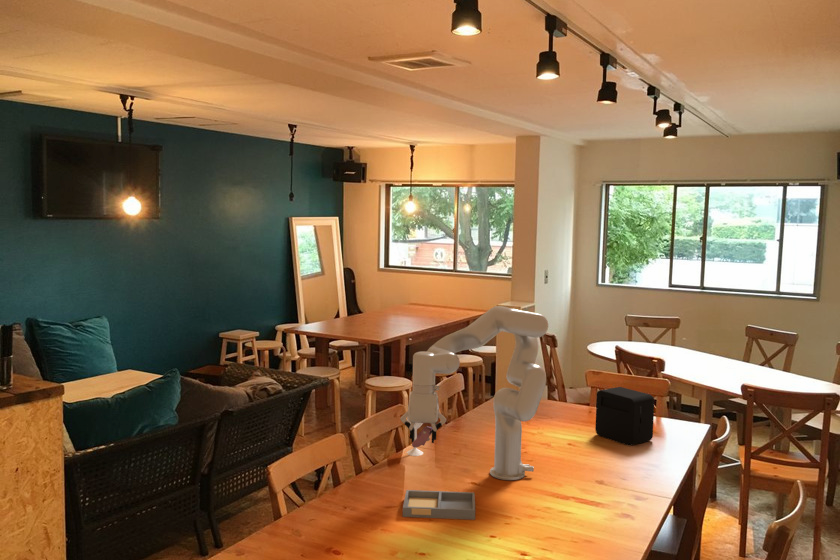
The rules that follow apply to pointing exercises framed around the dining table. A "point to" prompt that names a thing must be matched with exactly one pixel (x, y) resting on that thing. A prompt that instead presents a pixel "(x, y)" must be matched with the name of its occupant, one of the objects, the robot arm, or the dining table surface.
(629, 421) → the air purifier
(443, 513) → the tray
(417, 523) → the dining table surface
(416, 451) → the champagne flute
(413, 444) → the purple-brown lumpy piece
